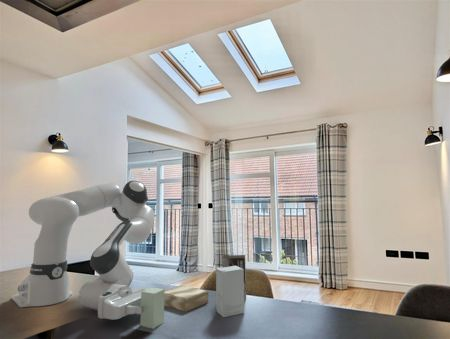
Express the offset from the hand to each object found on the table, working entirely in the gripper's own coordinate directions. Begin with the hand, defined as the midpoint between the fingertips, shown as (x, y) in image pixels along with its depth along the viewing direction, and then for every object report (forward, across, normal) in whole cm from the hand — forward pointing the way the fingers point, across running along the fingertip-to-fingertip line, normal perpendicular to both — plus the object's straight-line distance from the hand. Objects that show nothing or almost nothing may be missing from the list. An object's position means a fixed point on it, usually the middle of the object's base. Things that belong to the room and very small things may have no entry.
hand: (152, 305), depth 91 cm
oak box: (-2, -20, -6) cm, 21 cm away
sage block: (0, 0, -5) cm, 5 cm away
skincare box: (+18, -18, -6) cm, 26 cm away
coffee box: (+13, -33, -6) cm, 36 cm away
